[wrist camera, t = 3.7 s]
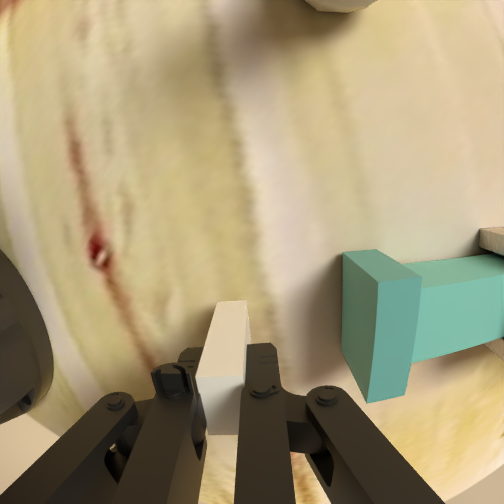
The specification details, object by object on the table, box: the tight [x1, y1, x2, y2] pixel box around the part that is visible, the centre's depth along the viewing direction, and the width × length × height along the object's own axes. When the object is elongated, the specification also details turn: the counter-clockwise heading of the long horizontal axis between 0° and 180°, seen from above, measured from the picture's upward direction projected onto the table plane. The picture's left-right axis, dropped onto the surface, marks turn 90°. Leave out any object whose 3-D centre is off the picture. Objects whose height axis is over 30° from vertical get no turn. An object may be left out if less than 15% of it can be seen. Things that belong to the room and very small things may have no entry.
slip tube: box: [341, 249, 504, 403], centre depth 14 cm, size 14×6×5 cm, turn 95°
